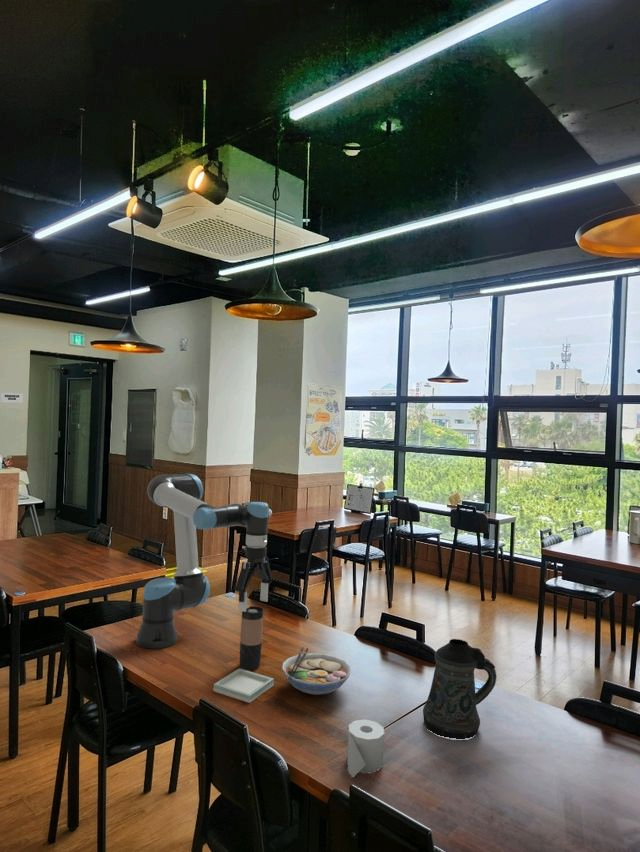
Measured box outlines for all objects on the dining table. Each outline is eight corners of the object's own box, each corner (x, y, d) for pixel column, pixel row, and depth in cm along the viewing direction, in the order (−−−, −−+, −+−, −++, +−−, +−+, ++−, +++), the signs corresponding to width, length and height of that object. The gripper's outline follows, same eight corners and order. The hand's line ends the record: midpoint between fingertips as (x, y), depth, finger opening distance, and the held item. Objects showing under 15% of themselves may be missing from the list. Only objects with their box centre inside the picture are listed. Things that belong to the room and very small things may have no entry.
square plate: (213, 691, 175) (213, 684, 175) (238, 674, 188) (239, 668, 188) (249, 703, 169) (250, 695, 169) (273, 685, 181) (274, 678, 181)
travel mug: (259, 671, 191) (262, 613, 192) (237, 669, 192) (240, 612, 192) (261, 661, 199) (264, 606, 199) (240, 660, 199) (243, 605, 199)
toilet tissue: (348, 782, 133) (350, 747, 133) (346, 750, 147) (348, 718, 147) (385, 784, 133) (387, 749, 133) (380, 752, 146) (381, 720, 147)
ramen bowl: (343, 714, 165) (345, 686, 166) (271, 702, 170) (272, 676, 170) (355, 678, 190) (356, 654, 190) (291, 669, 195) (292, 646, 195)
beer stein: (412, 715, 167) (416, 633, 167) (465, 707, 173) (469, 628, 174) (442, 746, 151) (447, 655, 151) (500, 735, 158) (504, 648, 158)
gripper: (244, 553, 183) (241, 617, 183) (283, 541, 205) (280, 598, 205) (226, 550, 186) (223, 613, 186) (266, 539, 209) (263, 595, 208)
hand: (253, 605), depth 195 cm, fingers open, 13 cm apart
